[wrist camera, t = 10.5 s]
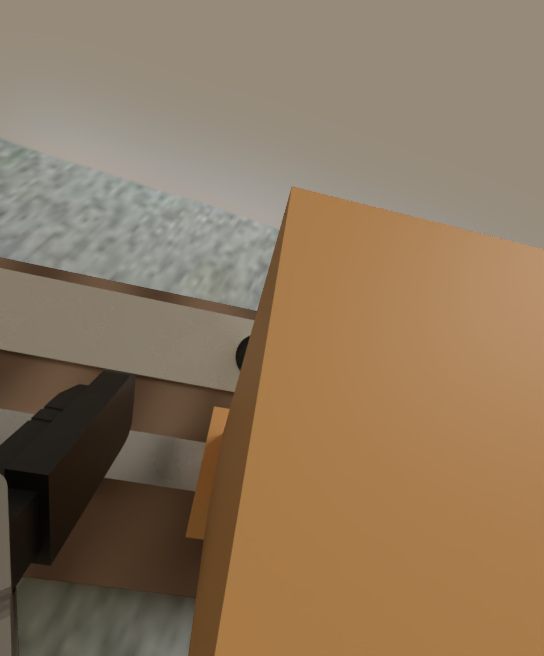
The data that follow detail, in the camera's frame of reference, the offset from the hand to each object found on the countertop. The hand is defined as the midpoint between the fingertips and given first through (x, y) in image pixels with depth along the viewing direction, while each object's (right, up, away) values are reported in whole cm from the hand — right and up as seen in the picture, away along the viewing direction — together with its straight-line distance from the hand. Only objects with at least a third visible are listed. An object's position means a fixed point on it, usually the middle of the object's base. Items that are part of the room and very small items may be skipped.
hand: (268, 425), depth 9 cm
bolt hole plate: (-7, +3, +8) cm, 11 cm away
